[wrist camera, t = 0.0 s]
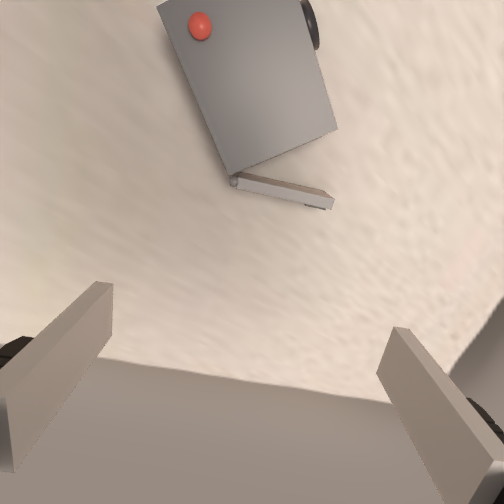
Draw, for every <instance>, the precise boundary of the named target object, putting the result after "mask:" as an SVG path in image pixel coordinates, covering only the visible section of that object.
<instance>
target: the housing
mask: <svg viewBox="0 0 504 504" xmlns="http://www.w3.org/2000/svg"><path fill="white" fill-rule="evenodd" d="M157 10H158V12H159V14H160V17H161V19H162V21H163V24H164V26H165V28H166V31H167V33H168V35H169V38H170V40H171V42H172V45H173V47H174V49H175V52H176V54H177V56H178V59H179V61H180V63H181V66H182V68H183V70H184V73H185V75H186V77H187V80H188V82H189V84H190V87H191V89H192V91H193V94H194V96H195V98H196V101H197V103H198V105H199V108H200V110H201V112H202V115H203V117H204V119H205V122H206V124H207V126H208V129H209V131H210V133H211V136H212V138H213V140H214V143H215V145H216V147H217V150H218V152H219V154H220V157H221V159H222V161H223V164H224V166H225V168H226V171H227V173H228V175H232V174H234V173H236V172H239V171H241V170H243V169H246V168H248V167H250V166H251V167H252V166H254V165H257V164H259V163H261V162H264V161H266V160H268V159H271V158H273V157H275V156H278V155H280V154H282V153H285V152H287V151H290V150H292V149H294V148H297V147H299V146H301V145H304V144H306V143H308V142H311V141H313V140H315V139H318V138H320V137H322V136H323V135H325V134H328V133H330V132H332V131H335V130H337V129H338V127H337V124H336V120H335V117H334V114H333V110H332V107H331V104H330V100H329V97H328V94H327V90H326V87H325V84H324V80H323V77H322V74H321V70H320V67H319V64H318V60H317V57H316V54H315V50H317V49H318V48H319V32H318V27H317V22H316V18H315V15H314V12H313V9H312V7H311V5H310V3H309V1H308V0H301V1H300V0H168V1H166V2H164V3H162V4H161V5H159V6H157Z"/></svg>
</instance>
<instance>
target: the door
mask: <svg viewBox="0 0 504 504" xmlns="http://www.w3.org/2000/svg"><path fill="white" fill-rule="evenodd" d="M229 183H230V185H231V186H232V187H236V189H241V190H245V191H250V192H254V193H259V194H263V195H268V196H272V197H277V198H281V199H286V200H290V201H295V202H299V203H304V204H305V205H306V206H310V207H314V208H319V209H323V210H326V209H330V210H332V206H333V203H334V200H335V199H334V198H333V197H331V196H330V195H329V194H327V193H326V192H325V191H322V190H317V189H313V188H308V187H304V186H300V185H295V184H291V183H286V182H282V181H278V180H273V179H269V178H264V177H260V176H256V175H251V174H247V173H242V172H240V173H238V172H236V173H234V174H233V175H232V177H231V179H230V182H229Z"/></svg>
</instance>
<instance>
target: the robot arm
mask: <svg viewBox="0 0 504 504" xmlns="http://www.w3.org/2000/svg"><path fill="white" fill-rule="evenodd" d="M112 310H113V284H111V283H104V282H97V281H96V282H95V283H93V284H92V285H91V286H90V287H89V288H88V289H87V290H86V291H85V292H84V293H83V294H82V295H80V296H79V297H78V298H77V299H76V300H75V301H74V302H73V303H72V304H71V305H70V306H69V307H67V308H66V309H65V310H64V311H63V312H62V313H61V314H60V315H59V316H58V317H57V318H56V319H54V320H53V321H52V322H51V323H50V324H49V325H48V326H47V327H46V328H45V329H44V330H43V331H41V332H40V333H39V334H38V335H37V336H36V337H35V338H32V337H25V336H22V337H20V338H18V339H15V340H13V341H11V342H9V343H7V344H6V345H4V346H3V347H2V348H1V349H0V471H2V472H10V473H15V472H16V470H17V469H18V467H19V466H20V464H21V463H22V462H23V460H24V459H25V457H26V456H27V455H28V453H29V452H30V450H31V449H32V447H33V446H34V445H35V443H36V442H37V440H38V439H39V438H40V436H41V435H42V433H43V432H44V431H45V429H46V428H47V426H48V425H49V423H50V422H51V421H52V419H53V418H54V416H55V415H56V414H57V412H58V411H59V409H60V408H61V407H62V405H63V404H64V402H65V401H66V399H67V398H68V397H69V395H70V394H71V392H72V391H73V390H74V388H75V387H76V385H77V384H78V382H79V381H80V380H81V378H82V377H83V375H84V374H85V373H86V371H87V370H88V368H89V367H90V366H91V364H92V363H93V361H94V360H95V358H96V357H97V356H98V354H99V353H100V351H101V350H102V349H103V347H104V346H105V344H106V343H107V342H108V340H109V339H110V337H111V336H112ZM376 374H377V376H378V378H379V379H380V381H381V383H382V385H383V387H384V389H385V391H386V393H387V395H388V397H389V398H390V400H391V402H392V404H393V406H394V408H395V410H396V412H397V414H398V416H399V417H400V419H401V421H402V423H403V425H404V427H405V429H406V431H407V433H408V435H409V436H410V438H411V440H412V442H413V444H414V446H415V448H416V450H417V452H418V454H419V455H420V457H421V459H422V461H423V463H424V465H425V467H426V469H427V471H428V473H429V475H430V476H431V478H432V480H433V482H434V484H435V486H436V488H437V490H438V491H439V493H440V495H441V497H442V499H443V501H444V503H445V504H504V432H503V431H502V430H501V429H500V427H499V426H498V425H496V424H495V422H494V420H493V419H492V418H491V417H490V416H489V415H488V413H487V412H486V411H485V410H484V409H483V408H482V407H480V406H479V405H478V404H477V403H476V402H474V401H473V400H471V399H470V398H466V397H465V396H464V395H463V394H462V393H461V392H460V390H459V389H458V388H457V387H456V385H455V384H454V383H453V382H452V381H451V379H450V378H449V377H448V376H447V374H446V373H445V372H444V371H443V370H442V368H441V367H440V366H439V365H438V363H437V362H436V361H435V360H434V359H433V357H432V356H431V355H430V354H429V352H428V351H427V350H426V349H425V348H424V346H423V345H422V344H421V343H420V341H419V340H418V339H417V338H416V337H415V335H414V334H413V333H412V332H411V331H410V329H407V328H400V327H393V330H392V332H391V335H390V338H389V340H388V343H387V346H386V348H385V351H384V354H383V356H382V359H381V362H380V364H379V367H378V370H377V372H376Z"/></svg>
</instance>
